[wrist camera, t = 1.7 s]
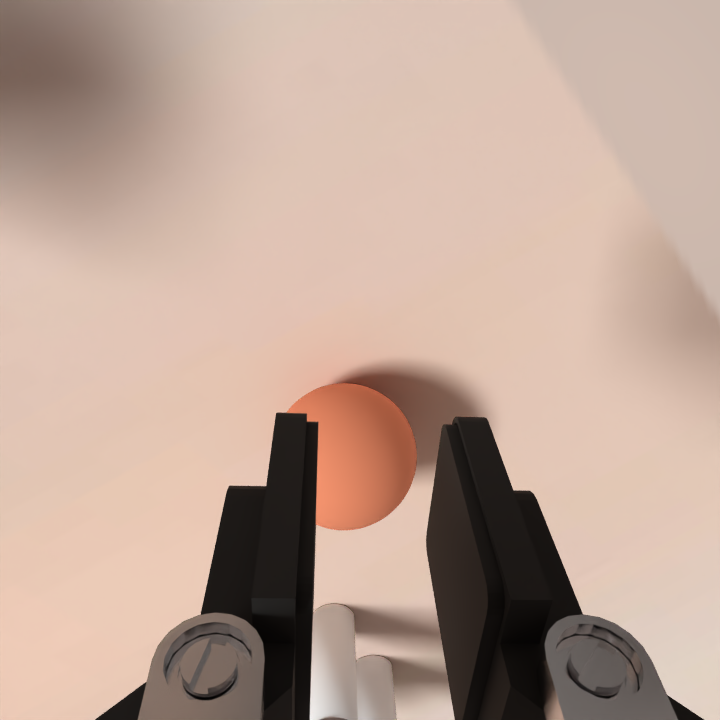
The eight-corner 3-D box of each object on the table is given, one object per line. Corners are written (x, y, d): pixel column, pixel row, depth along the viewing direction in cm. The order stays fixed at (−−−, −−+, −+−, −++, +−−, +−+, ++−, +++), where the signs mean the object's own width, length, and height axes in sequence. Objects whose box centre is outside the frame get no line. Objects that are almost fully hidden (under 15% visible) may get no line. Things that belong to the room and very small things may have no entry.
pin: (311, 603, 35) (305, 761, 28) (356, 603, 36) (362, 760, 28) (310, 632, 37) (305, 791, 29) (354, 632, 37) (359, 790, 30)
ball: (276, 355, 27) (263, 439, 22) (414, 359, 28) (433, 443, 23) (277, 464, 30) (266, 561, 25) (402, 466, 31) (417, 563, 26)
